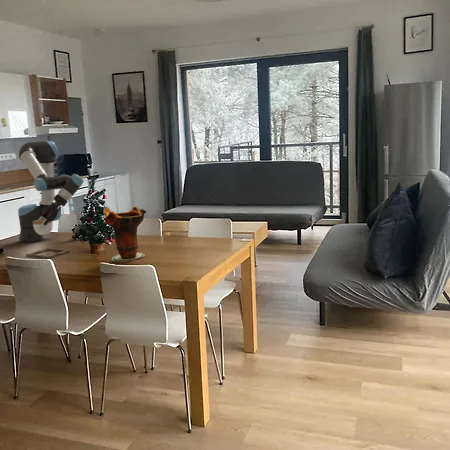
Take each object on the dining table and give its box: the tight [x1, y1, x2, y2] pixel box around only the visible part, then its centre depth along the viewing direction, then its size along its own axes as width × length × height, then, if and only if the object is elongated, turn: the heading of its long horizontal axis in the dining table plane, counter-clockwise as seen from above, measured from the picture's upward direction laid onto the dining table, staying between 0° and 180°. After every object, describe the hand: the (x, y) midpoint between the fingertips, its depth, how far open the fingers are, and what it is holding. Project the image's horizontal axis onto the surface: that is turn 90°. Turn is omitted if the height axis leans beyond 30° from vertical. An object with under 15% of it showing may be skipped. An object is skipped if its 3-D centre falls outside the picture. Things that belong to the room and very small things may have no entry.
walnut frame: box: [25, 247, 70, 260], centre depth 285 cm, size 16×18×1 cm
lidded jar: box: [33, 218, 54, 236], centre depth 283 cm, size 11×11×9 cm
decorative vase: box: [103, 206, 147, 262], centre depth 266 cm, size 21×23×28 cm
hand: (38, 227), depth 282 cm, fingers closed on lidded jar, 11 cm apart
